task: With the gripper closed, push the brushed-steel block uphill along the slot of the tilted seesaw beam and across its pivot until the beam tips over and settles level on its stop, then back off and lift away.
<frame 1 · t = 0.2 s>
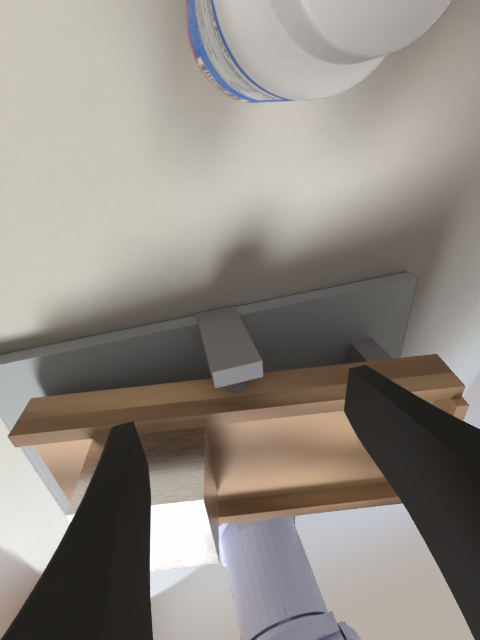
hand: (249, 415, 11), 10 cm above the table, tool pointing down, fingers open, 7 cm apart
beam: (245, 457, 20), point 5 cm above the table, hinge at -10.7°, touching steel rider
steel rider: (160, 467, 20), point 4 cm above the table, tilted 11°, touching beam
pivot stand: (227, 395, 24), on the table
pill bottle: (247, 26, 14), on the table
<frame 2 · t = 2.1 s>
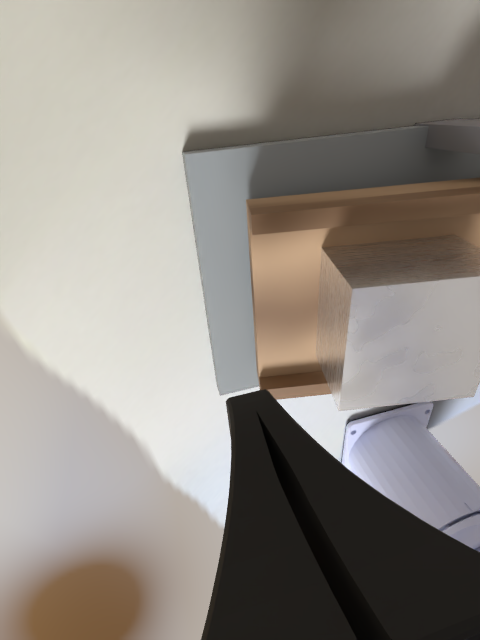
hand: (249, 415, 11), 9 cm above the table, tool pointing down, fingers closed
beam: (478, 290, 17), point 5 cm above the table, hinge at -10.7°, touching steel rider
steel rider: (378, 300, 17), point 4 cm above the table, tilted 11°, touching beam
pivot stand: (409, 253, 21), on the table
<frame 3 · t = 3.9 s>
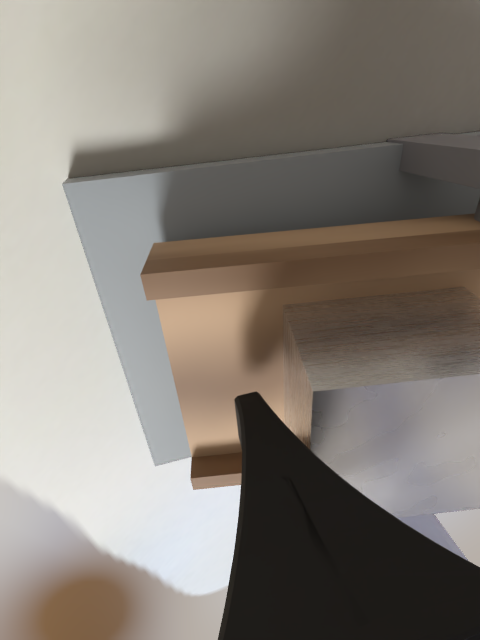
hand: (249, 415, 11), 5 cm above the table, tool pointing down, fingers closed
beam: (467, 357, 13), point 5 cm above the table, hinge at -10.7°, touching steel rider
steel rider: (363, 366, 13), point 5 cm above the table, tilted 11°, touching beam, gripper
pivot stand: (386, 294, 17), on the table
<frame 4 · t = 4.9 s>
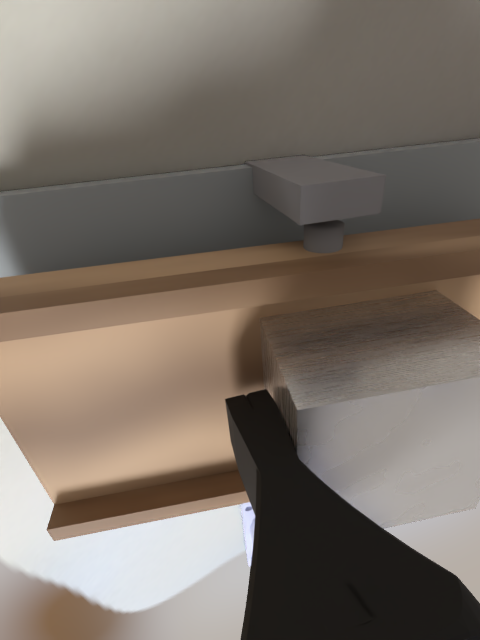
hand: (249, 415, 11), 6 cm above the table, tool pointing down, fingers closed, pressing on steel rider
beam: (323, 382, 13), point 5 cm above the table, hinge at -4.9°, touching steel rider
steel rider: (343, 374, 13), point 5 cm above the table, tilted 5°, touching beam, gripper
pivot stand: (277, 314, 17), on the table
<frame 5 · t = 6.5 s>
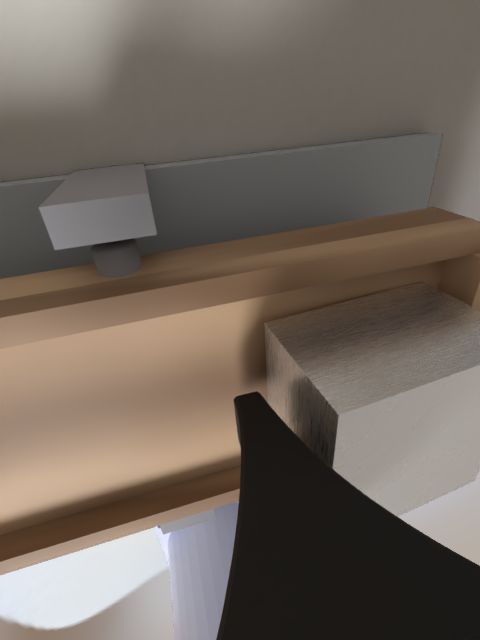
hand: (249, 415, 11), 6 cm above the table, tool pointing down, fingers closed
beam: (159, 410, 12), point 5 cm above the table, hinge at 0.9°, touching pivot stand, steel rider
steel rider: (341, 370, 13), point 5 cm above the table, tilted 5°, touching beam, gripper
pivot stand: (151, 330, 16), on the table
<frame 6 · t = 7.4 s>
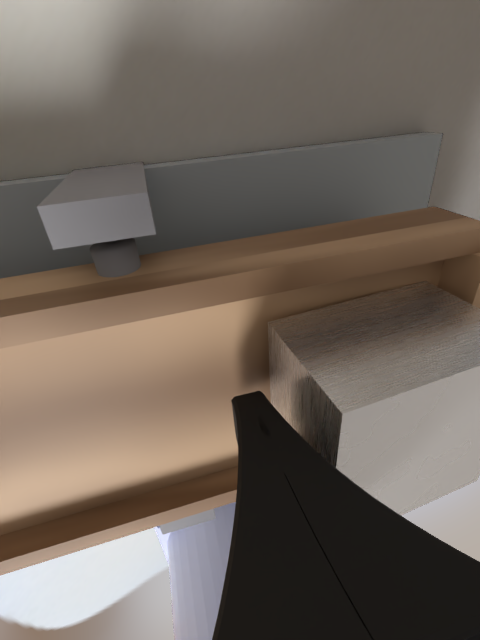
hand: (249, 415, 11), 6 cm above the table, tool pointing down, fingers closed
beam: (158, 410, 12), point 5 cm above the table, hinge at 0.9°, touching pivot stand, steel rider
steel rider: (343, 369, 13), point 5 cm above the table, touching beam, gripper
pivot stand: (151, 330, 16), on the table
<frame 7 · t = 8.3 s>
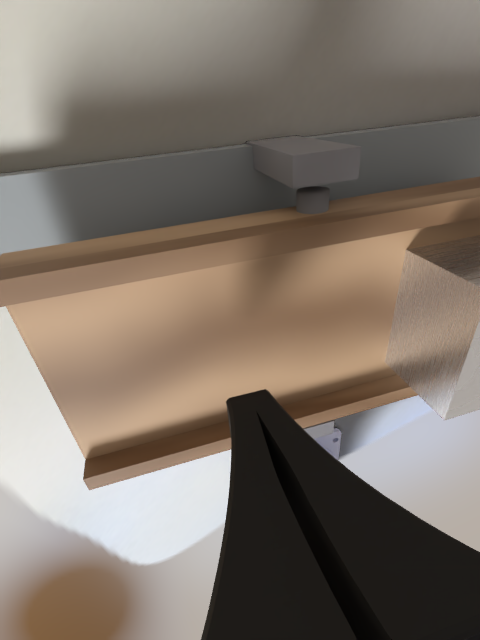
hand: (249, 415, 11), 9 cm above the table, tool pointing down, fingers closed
beam: (317, 328, 15), point 5 cm above the table, hinge at 0.9°, touching pivot stand, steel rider
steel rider: (449, 298, 16), point 5 cm above the table, touching beam
pivot stand: (275, 279, 19), on the table
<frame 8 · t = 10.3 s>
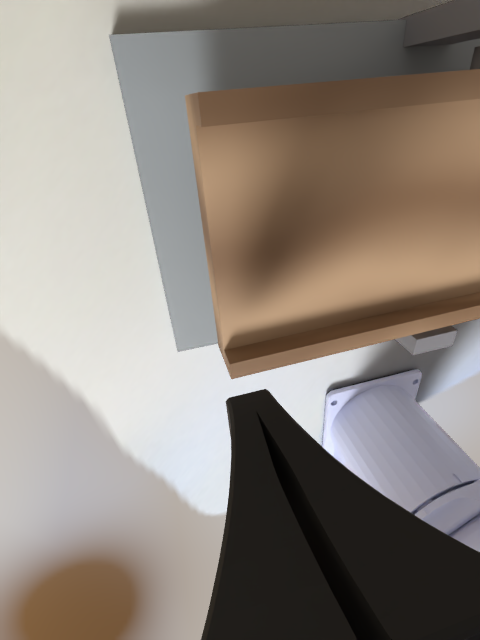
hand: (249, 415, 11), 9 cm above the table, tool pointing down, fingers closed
beam: (467, 213, 15), point 5 cm above the table, hinge at 0.9°, touching pivot stand, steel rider
pivot stand: (390, 189, 19), on the table
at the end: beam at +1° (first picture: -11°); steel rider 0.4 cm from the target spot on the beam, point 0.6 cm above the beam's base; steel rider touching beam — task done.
